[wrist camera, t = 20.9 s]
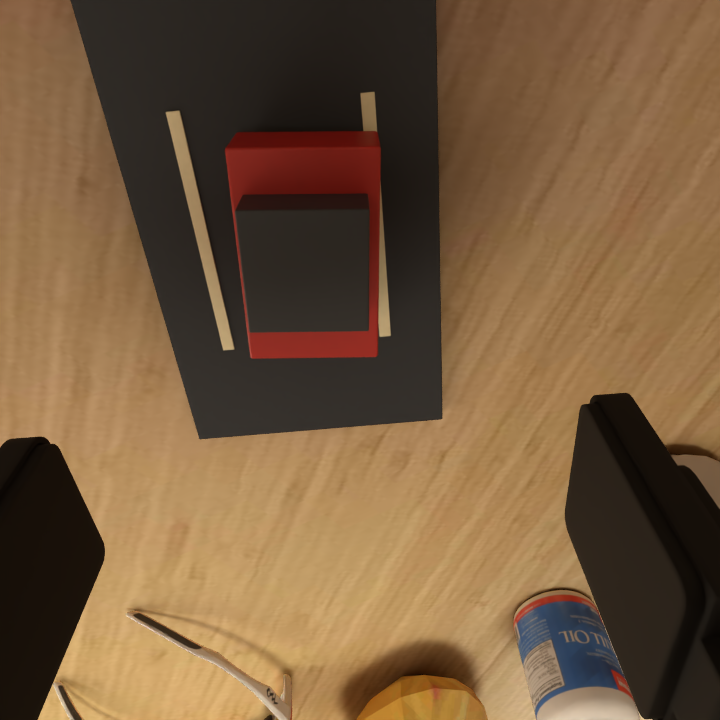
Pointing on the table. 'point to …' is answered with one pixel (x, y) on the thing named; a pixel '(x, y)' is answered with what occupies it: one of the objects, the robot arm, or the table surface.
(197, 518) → the table surface
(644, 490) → the robot arm
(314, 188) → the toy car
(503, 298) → the table surface
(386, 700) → the toy
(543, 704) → the pill bottle
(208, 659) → the sunglasses
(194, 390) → the mat
